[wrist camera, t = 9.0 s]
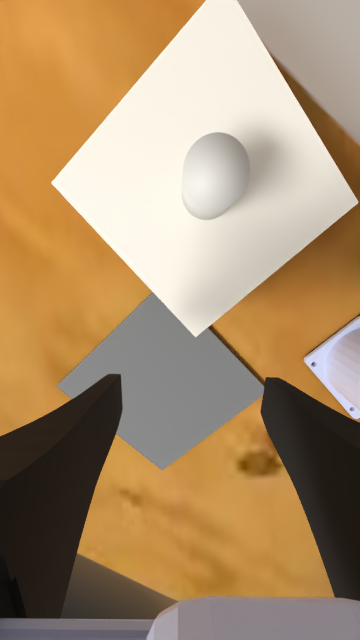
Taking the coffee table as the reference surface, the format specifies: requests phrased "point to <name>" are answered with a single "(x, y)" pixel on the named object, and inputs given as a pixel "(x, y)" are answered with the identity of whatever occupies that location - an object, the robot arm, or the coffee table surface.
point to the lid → (207, 170)
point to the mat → (167, 382)
